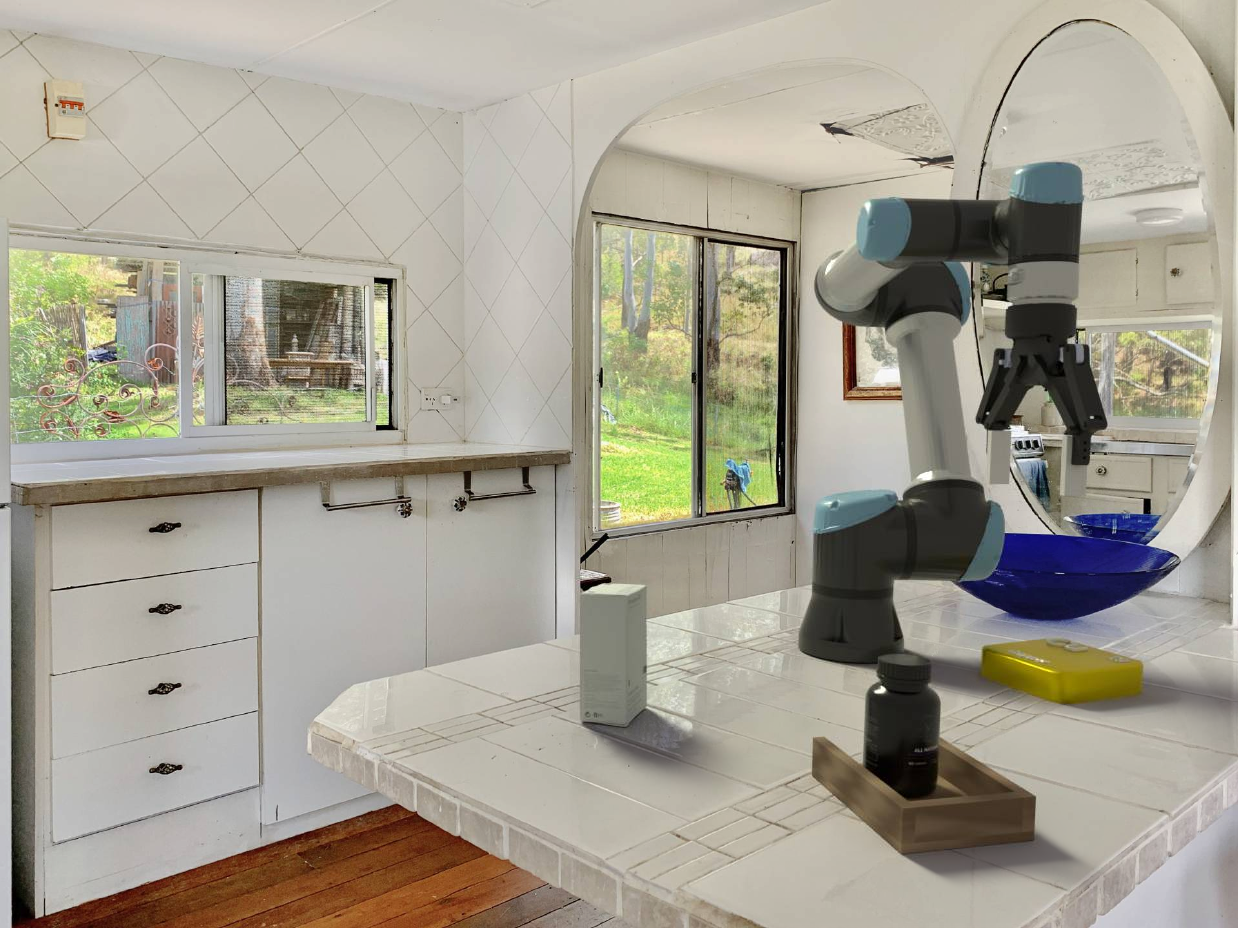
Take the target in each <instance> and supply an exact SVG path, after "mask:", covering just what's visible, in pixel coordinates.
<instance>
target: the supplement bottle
mask: <svg viewBox="0 0 1238 928" xmlns="http://www.w3.org/2000/svg"><path fill="white" fill-rule="evenodd" d="M875 672H876V673H875V675H876V678H877V679H879V681H877V682H875V683H874V684H872V685H870V686H869V688H868V689H867V691H866V693H865V700H864V702H865V703H864V720H863V721H864V723H863V725H864V726H863V750H862V763H863V767H864V768H866V769H867V770H868V771H870V772H871V773H872V774H873V775H875V776H876V777H877V778H879V779H880V780H881V781H883V782H884V783H885V784H886V785H888V786H889V787H890V788H892V789H893V790H894V791H896V792H897V793H898V794H899V795H901V796H902V797H922V796H926V795H929V794H931V793H932V792H933V791H934V790H935V789H936V787H937V780H938V761H939V739H940V738H941V737H940V735H941V714H942V713H941V710H942V702H941V698H940V696H939V694H938V693H937V692H936V691H935V690H934V689H933V688H932V687H931V686H929V684H931V683H932V662H931V660H929V659H928V658H925V657H923V656H920V655H919V656H918V655H915V654H907V653H904V654H884V655H881V656H879V657H878V662H877V669H876V671H875Z"/></svg>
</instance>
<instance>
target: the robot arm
mask: <svg viewBox="0 0 1238 928" xmlns="http://www.w3.org/2000/svg"><path fill="white" fill-rule="evenodd" d="M1008 191H1009V192H1008V195H1009V198H1008V197H1007V199H949V198H947V199H946V198H945V199H944V198H911V197H910V198H909V197H908V198H906V197H904V198H903V197H896V196H891V197H886V198H885V197H881V198H871V199H868V200H866V201H865V202H864V203H863V205H862V206H861V209H860V213H859V214H858V217H857V223H856V224H857V225H856V235H855V236H856V237H855V239H854V240H853V241H852V242H851V243H850V244H849V245H848V246H847V247H846V248H845V249H842V250H839V251H836V252H834V253H832V254H831V255H830V256H828V257H827V258H826V259H825V260H824V261H823V262H822V263H821V264H820V266H818V269H817V271H816V273H815V276H814V280H813V281H814V282H813V288H814V289H813V290H814V291H813V292H814V295H815V298H816V300H817V302H818V304H819V306H820V307H821V308H822V309H823V310H824V311H825V312H826V313H827V314H828V315H829V316H831V317H833V318H834V319H836V320H837V321H839V322H842V323H844V324H847V325H850V326H854V327H863V328H867V327H868V328H884V333H885V340H886V342H887V343H888V344H889V345H890V346H892V347H893V348H895V349H896V353H897V363H898V370H899V380H900V389H901V397H902V406H903V407H902V408H903V416H904V417H903V418H904V425H905V434H906V443H907V453H908V462H909V472H910V481H911V483H910V484H909V485H908V486H907V487H906V488H905V489H904V490H903V492H902V500H901V499H900V500H899V497H898V495H897V492H896V491H894V490H891V489H873V490H872V489H864V490H862V489H861V490H852V491H851V490H850V491H844V492H838V493H833V494H829V495H825V496H824V497H822V498H821V499H819V500H818V502H817V503H816V504H815V509H814V517H813V525H812V529H811V531H812V533H813V539H812V540H813V541H812V543H813V544H812V572H811V574H812V576H811V577H812V579H811V581H812V582H811V596H810V599H809V602H808V605H807V608H806V610H805V614H804V616H803V618H802V621H801V623H800V627H799V631H798V636H797V638H798V642H797V644H798V645H797V646H798V649H799V650H800V651H802V652H803V653H804V654H808V655H809V656H810V655H811V656H813V657H816V658H817V657H818V658H821V659H824V660H829V661H830V660H832V661H836V662H837V661H838V662H843V663H844V662H846V663H863V664H864V663H865V664H867V663H868V664H870V663H872V664H873V663H878V657H879V656H881V655H884V654H905V637H904V633H903V630H902V626H901V623H900V620H899V617H898V612H897V608H896V605H895V602H894V590H895V589H894V585H895V581H931V582H933V581H937V582H938V581H939V582H940V581H941V582H943V581H944V582H946V581H947V582H955V583H962V582H964V581H965V582H967V581H968V582H969V581H982V580H986V579H987V578H989V577H990V576H991V575H992V574H993V573H994V571H995V570H996V568H997V566H998V564H999V563H1000V560H1001V555H1002V552H1003V548H1004V543H1005V535H1006V534H1005V533H1006V521H1005V514H1004V511H1003V509H1002V506H1001V505H1000V503H998V502H997V501H994V500H991V499H990V500H989V499H988V500H986V494H985V487H984V484H983V483H981V482H980V481H979V480H977V479H975V478H974V477H973V476H972V472H971V465H970V457H969V450H968V443H967V442H968V441H967V435H966V428H965V420H964V412H963V404H962V399H961V398H962V397H961V390H960V384H959V383H960V382H959V377H958V376H959V375H958V370H957V369H958V367H957V362H956V361H957V360H956V352H955V346H954V340H955V339H956V338H957V337H958V336H959V335H960V334H961V330H962V327H964V325H966V323H967V321H969V317H970V314H971V309H972V302H971V297H972V289H971V281H970V277H969V275H968V272H967V269H966V268H965V266H964V265H963V263H980V264H983V265H985V266H989V267H1007V266H1008V268H1007V269H1008V270H1007V286H1006V287H1007V289H1006V290H1007V291H1006V300H1007V301H1008V302H1010V303H1012V305H1008V306H1007V308H1006V309H1005V320H1004V321H1005V322H1004V336H1005V337H1006V338H1007V339H1010V340H1012V341H1013V343H1012V348H1007V347H1005V348H1004V347H1001V348H1000V347H997V348H995V349H994V352H993V360H992V366H991V370H990V374H989V376H988V379H987V382H986V385H985V389H984V391H983V394H982V397H981V400H980V402H979V406H978V410H977V412H976V415H975V418H974V419H975V423H976V424H977V425H981V426H983V428H984V429H985V430H986V445H985V446H986V448H985V453H986V469H985V472H986V473H985V475H986V476H985V485H1010V476H1011V475H1010V473H1011V470H1010V469H1011V450H1012V447H1011V446H1012V427H1011V425H1010V422H1011V421H1012V419H1013V417H1014V415H1015V414H1016V412H1017V410H1018V408H1019V406H1020V405H1021V403H1022V402H1023V400H1024V398H1025V396H1026V395H1027V392H1028V391H1030V390H1031V389H1033V388H1034V387H1037V386H1038V387H1039V386H1041V387H1042V388H1043V389H1046V391H1047V392H1048V394H1049V396H1050V398H1051V400H1052V402H1053V404H1054V407H1055V408H1056V410H1057V411H1058V414H1059V416H1060V418H1061V420H1062V422H1063V423H1064V425H1065V428H1066V429H1065V430H1064V431H1063V432H1062V434H1063V435H1061V436H1062V441H1061V457H1060V458H1061V461H1060V481H1059V482H1060V483H1059V484H1060V485H1059V496H1063V497H1069V496H1071V497H1073V496H1074V497H1076V496H1077V497H1080V496H1083V497H1084V496H1086V495H1087V482H1088V481H1087V479H1088V476H1087V475H1088V466H1089V465H1090V462H1091V446H1092V444H1091V443H1092V436H1093V435H1095V434H1096V433H1097V432H1098V431H1105V430H1106V429H1107V427H1108V420H1107V417H1106V413H1105V409H1104V407H1103V403H1102V399H1101V397H1100V396H1101V395H1100V394H1099V390H1098V386H1097V383H1096V379H1095V376H1094V373H1093V370H1092V366H1091V355H1090V354H1091V353H1090V351H1091V349H1090V346H1089V344H1087V343H1068V339H1072V338H1074V337H1075V336H1076V334H1077V320H1078V307H1076V305H1075V304H1072V303H1073V302H1074V301H1076V300H1077V299H1079V291H1080V290H1079V286H1080V285H1079V283H1080V251H1081V250H1080V249H1081V248H1080V247H1081V233H1082V232H1081V231H1082V219H1083V218H1082V215H1083V204H1084V203H1083V202H1084V200H1085V196H1084V193H1083V171H1082V169H1081V168H1080V166H1078V165H1077V164H1075V163H1072V162H1065V161H1043V162H1036V163H1029V164H1026V165H1023V166H1020V167H1018V168H1016V169H1015V170H1014V172H1013V173H1012V176H1011V183H1010V188H1009V190H1008ZM987 413H988V414H987ZM1091 417H1093V418H1091Z"/></svg>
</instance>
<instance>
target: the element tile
mask: <svg viewBox="0 0 1238 928" xmlns="http://www.w3.org/2000/svg"><path fill="white" fill-rule="evenodd" d="M980 653H981V654H980V657H981V658H980V659H981V660H980V676H981V677H982V678H985V679H988V680H990V681H993V682H996V683H998V684H1001V685H1004V686H1006V687H1009V688H1012V689H1015V690H1018V691H1020V692H1022V693H1025V694H1028V695H1031V696H1033V697H1035V698H1036V697H1037V698H1039V699H1042V700H1044V701H1048V702H1051V703H1054V704H1058V705H1078V704H1085V703H1092V702H1099V701H1104V700H1105V701H1106V700H1112V699H1119V698H1120V699H1121V698H1125V697H1126V698H1127V697H1132V696H1139V695H1142V694H1143V683H1144V682H1143V681H1144V664H1143V662H1142V661H1141V660H1138V659H1135V658H1131V657H1128V656H1124V655H1121V654H1118V653H1114V652H1111V651H1108V650H1107V651H1106V650H1105V649H1099V648H1096V647H1093V646H1090V645H1087V644H1083V643H1079V642H1075V641H1074V640H1072V639H1069V638H1064V637H1063V638H1062V637H1049V638H1048V637H1047V638H1041V639H1040V638H1039V639H1030V640H1022V641H1021V640H1020V641H1013V642H1003V643H995V644H987V645H986V644H985V645H983V646H982V647H981V651H980Z"/></svg>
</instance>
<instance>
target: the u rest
mask: <svg viewBox="0 0 1238 928" xmlns="http://www.w3.org/2000/svg"><path fill="white" fill-rule="evenodd" d="M811 756H812V759H811V760H812V761H811V776H812V777H813V778H814V779H815V780H817V781H818V782H819V783H820V784H821V785H822V786H823V787H824V788H826V790H828V791H829V792H830V793H831V794H832V795H833V796H835V797H836V798H837V799H838V800H840V802H842V803H843V805H845V806H846V807H847V808H848V809H849V810H850V811H852V812H853V813H854V814H855V815H856V816H857V817H859V818H860V819H861V820H862V821H863V823H865V824H866V825H868V826H869V827H870V828H871V829H872V830H873V831H874V832H875V833H877V834H878V835H879V836H880V837H881V838H882V839H883V840H884V841H886V842H887V844H889V845H890V846H892V847H893V848H894V850H896V851H897V852H898V853H900V855H904V854H913V853H914V854H915V853H924V852H932V851H943V850H952V849H961V848H962V849H963V848H973V847H980V846H981V847H982V846H990V845H1000V844H1011V843H1019V842H1021V843H1022V842H1028V841H1035V827H1036V808H1037V807H1036V806H1037V796H1036V795H1034V794H1033V793H1031V792H1030V791H1029V790H1027V789H1025V788H1023V787H1022V786H1020V785H1019V784H1017V783H1016V782H1014V781H1011V779H1008V777H1006V776H1004V775H1002V774H1001V773H999V772H998V771H995V770H994V769H992V768H991V767H989V766H987V765H986V764H984V763H982V762H981V761H979V760H977V759H976V758H974V757H973V756H971V755H969V754H968V753H967V752H965V751H963V750H961V749H960V748H958V747H957V746H955V745H953V744H952V743H950V742H948V741H947V740H946V739H943V738H942V737H940V739H939V761H938V780H937V787H936V789H935V790H934V791H933V792H932V793H931V794H929V795H926V796H922V797H902V796H901V795H899V794H898V793H897V792H896V791H894V790H893V789H892V788H890V787H889V786H888V785H886V784H885V783H884V782H883V781H881V780H880V779H879V778H877V777H876V776H875V775H873V774H872V773H871V772H870V771H868V770H867V769H866V768H864V767H863V762H862V763H860V762H858V761H857V760H855V759H854V758H853V757H852V756H850V754H847V753H846V752H845V751H844V750H842V749H841V748H840V747H839V746H837V745H836V744H835V743H833V742H832V741H831V740H830V739H828V738H827V737H825V736H816V737H814V736H813V737H812V753H811Z"/></svg>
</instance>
